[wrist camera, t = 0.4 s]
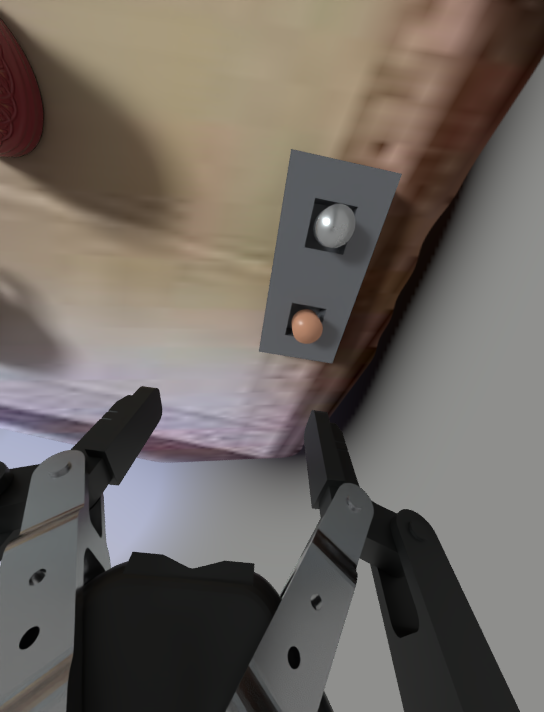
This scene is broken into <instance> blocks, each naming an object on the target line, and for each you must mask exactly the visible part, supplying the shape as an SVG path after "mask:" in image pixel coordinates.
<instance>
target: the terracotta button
mask: <svg viewBox="0 0 544 712" xmlns="http://www.w3.org/2000/svg"><path fill="white" fill-rule="evenodd" d="M291 324H292V331H293V335H294V337H295V339H296V340H297V341H299V342H300V343H304V344H310V343H313V342H315V341H317V340H318V339H319V338H320V336H321V334H322V331H323V326H322V323H321V321H320V319H319V318H318V316H317V314H316V313H315V312H314V311H312V310H309V309H303V310H300V311H298V312H297V313H296V314H295V315H294V316H293V318H292V322H291Z"/></svg>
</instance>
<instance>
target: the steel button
mask: <svg viewBox="0 0 544 712" xmlns="http://www.w3.org/2000/svg"><path fill="white" fill-rule="evenodd" d="M354 230H355V216H354V213H353V211H352V210H351V209H350V208H349V207H348V206H347V205H345V204H334V205H331V206H329V207H328V208H326V209H324V210H323V211H322V212H321V213H320V214H319V215H318V216H317V217H316V219H315V222H314V225H313V234H314V237H315V239H316V241H317V242H318V243H319V244H320V245H322V246H325V247H330V248H337V247H340V246H342V245H344V244H345V243H347V242H348V241H349V239H350V238H351V236H352V235H353V232H354Z"/></svg>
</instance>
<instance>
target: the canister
mask: <svg viewBox="0 0 544 712" xmlns="http://www.w3.org/2000/svg"><path fill="white" fill-rule="evenodd" d="M42 129H43V106H42V100H41V95H40V91H39V88H38V85H37V81H36V79H35V76H34V73H33V71H32V69H31V66H30V64H29V62H28V60H27V58H26V56H25V54H24V52H23V50H22V49H21V47H20V45H19V44H18V42H17V40H16V39H15V37H14V36H13V34H12V33H11V32H10V30H9V29H8V28H7V26H6V25H5V24H4V22H3V21H2V20H1V19H0V156H1V157H5V156H6V157H20V156H24V155H26V154H28V153H30V152H31V151H32V150H33V149H34V148H35V147H36V145H37V144H38V142H39V140H40V137H41V134H42Z"/></svg>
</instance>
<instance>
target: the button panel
mask: <svg viewBox="0 0 544 712" xmlns="http://www.w3.org/2000/svg"><path fill="white" fill-rule="evenodd" d="M401 175H402V174H400V173H395V172H391V171H386V170H382V169H377V168H373V167H369V166H364V165H360V164H355V163H351V162H346V161H342V160H337V159H333V158H329V157H324V156H320V155H315V154H311V153H306V152H302V151H298V150H293V149H291V155H290V161H289V167H288V173H287V179H286V186H285V192H284V198H283V204H282V211H281V217H280V223H279V229H278V236H277V242H276V248H275V254H274V260H273V267H272V273H271V279H270V285H269V292H268V298H267V304H266V310H265V317H264V323H263V329H262V335H261V341H260V348H259V352H265V353H272V354H278V355H284V356H290V357H296V358H302V359H308V360H314V361H320V362H327V363H332V362H333V360H334V357H335V354H336V352H337V349H338V346H339V343H340V341H341V338H342V335H343V332H344V330H345V327H346V324H347V322H348V319H349V316H350V313H351V311H352V308H353V305H354V303H355V300H356V297H357V294H358V292H359V289H360V286H361V284H362V281H363V278H364V275H365V273H366V270H367V267H368V265H369V262H370V259H371V256H372V254H373V251H374V248H375V245H376V243H377V240H378V237H379V235H380V232H381V229H382V226H383V224H384V221H385V218H386V216H387V213H388V210H389V207H390V205H391V202H392V199H393V197H394V194H395V191H396V188H397V186H398V183H399V180H400V177H401ZM334 204H345V205H347V206H348V207H349V208H350V209H351V210H352V211H353V213H354V216H355V230H354V232H353V235H352V236H351V238H350V239H349V241H348V242H347V243H345V244H344V245H342V246H340V247H337V248H330V247H325V246H322V245H320V244H319V243H318V242H317V241H316V239H315V237H314V234H313V225H314V222H315V219H316V217H317V216H318V215H319V214H320V213H321V212H322V211H323V210H324V209H326V208H328V207H329V206H331V205H334ZM303 309H309V310H312V311H314V312H315V313H316V314H317V316H318V318H319V319H320V321H321V323H322V326H323V331H322V334H321V336H320V338H319V339H318V340H317V341H315V342H313V343H310V344H304V343H300V342H299V341H297V340H296V339H295V337H294V335H293V331H292V324H291V322H292V318H293V316H294V315H295V314H296V313H297V312H298V311H300V310H303Z"/></svg>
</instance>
